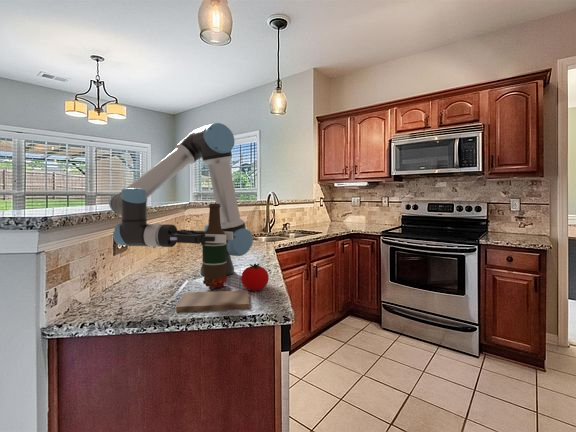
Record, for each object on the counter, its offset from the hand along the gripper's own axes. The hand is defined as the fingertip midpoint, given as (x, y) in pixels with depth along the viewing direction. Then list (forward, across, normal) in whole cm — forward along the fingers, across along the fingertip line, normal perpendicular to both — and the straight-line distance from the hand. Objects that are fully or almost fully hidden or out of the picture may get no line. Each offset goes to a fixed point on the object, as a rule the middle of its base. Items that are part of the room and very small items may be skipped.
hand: (229, 237), depth 99 cm
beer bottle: (-5, 0, -13) cm, 14 cm away
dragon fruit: (-10, -16, -22) cm, 29 cm away
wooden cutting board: (-5, 0, -22) cm, 22 cm away
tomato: (+6, -15, -22) cm, 28 cm away
